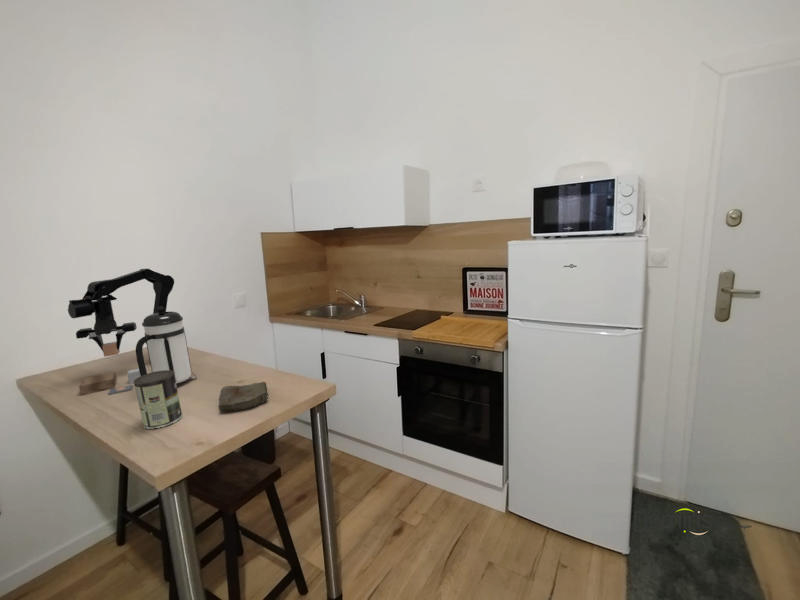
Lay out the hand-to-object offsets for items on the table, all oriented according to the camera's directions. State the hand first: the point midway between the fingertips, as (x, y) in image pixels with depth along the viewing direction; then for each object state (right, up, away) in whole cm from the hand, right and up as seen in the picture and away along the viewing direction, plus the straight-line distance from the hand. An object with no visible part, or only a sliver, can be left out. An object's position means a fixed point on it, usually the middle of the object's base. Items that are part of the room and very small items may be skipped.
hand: (111, 350), depth 154 cm
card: (+13, -13, -13) cm, 22 cm away
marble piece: (+66, -13, -29) cm, 73 cm away
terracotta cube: (0, -1, 0) cm, 1 cm away
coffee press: (+31, -12, -11) cm, 35 cm away
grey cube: (+13, -12, -4) cm, 18 cm away
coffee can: (+45, -16, -40) cm, 62 cm away
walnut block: (+2, -13, -8) cm, 16 cm away
